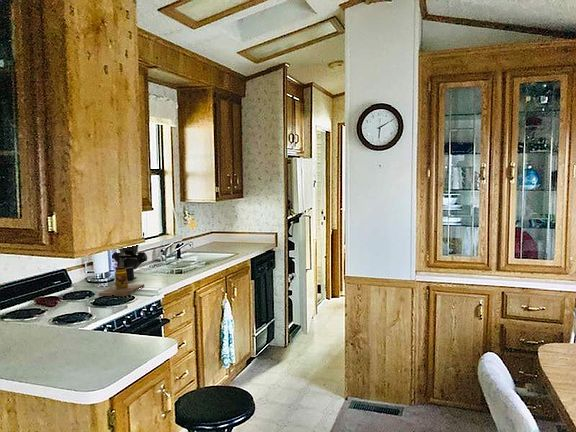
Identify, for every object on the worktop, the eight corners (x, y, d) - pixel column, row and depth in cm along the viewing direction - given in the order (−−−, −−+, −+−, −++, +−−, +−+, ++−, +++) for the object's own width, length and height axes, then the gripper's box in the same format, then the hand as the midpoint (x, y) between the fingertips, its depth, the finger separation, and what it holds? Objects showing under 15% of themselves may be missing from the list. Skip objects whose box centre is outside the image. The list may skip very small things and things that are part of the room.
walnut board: (118, 286, 288) (117, 284, 288) (144, 286, 285) (144, 284, 285) (98, 295, 268) (98, 293, 268) (126, 295, 266) (126, 293, 265)
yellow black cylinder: (121, 290, 272) (119, 268, 270) (110, 289, 276) (108, 267, 275) (131, 287, 278) (130, 265, 277) (120, 286, 282) (119, 265, 281)
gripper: (112, 238, 289) (105, 261, 279) (144, 238, 287) (138, 261, 278) (119, 250, 298) (112, 272, 288) (150, 249, 296) (144, 272, 286)
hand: (126, 269), depth 285 cm, fingers open, 9 cm apart
